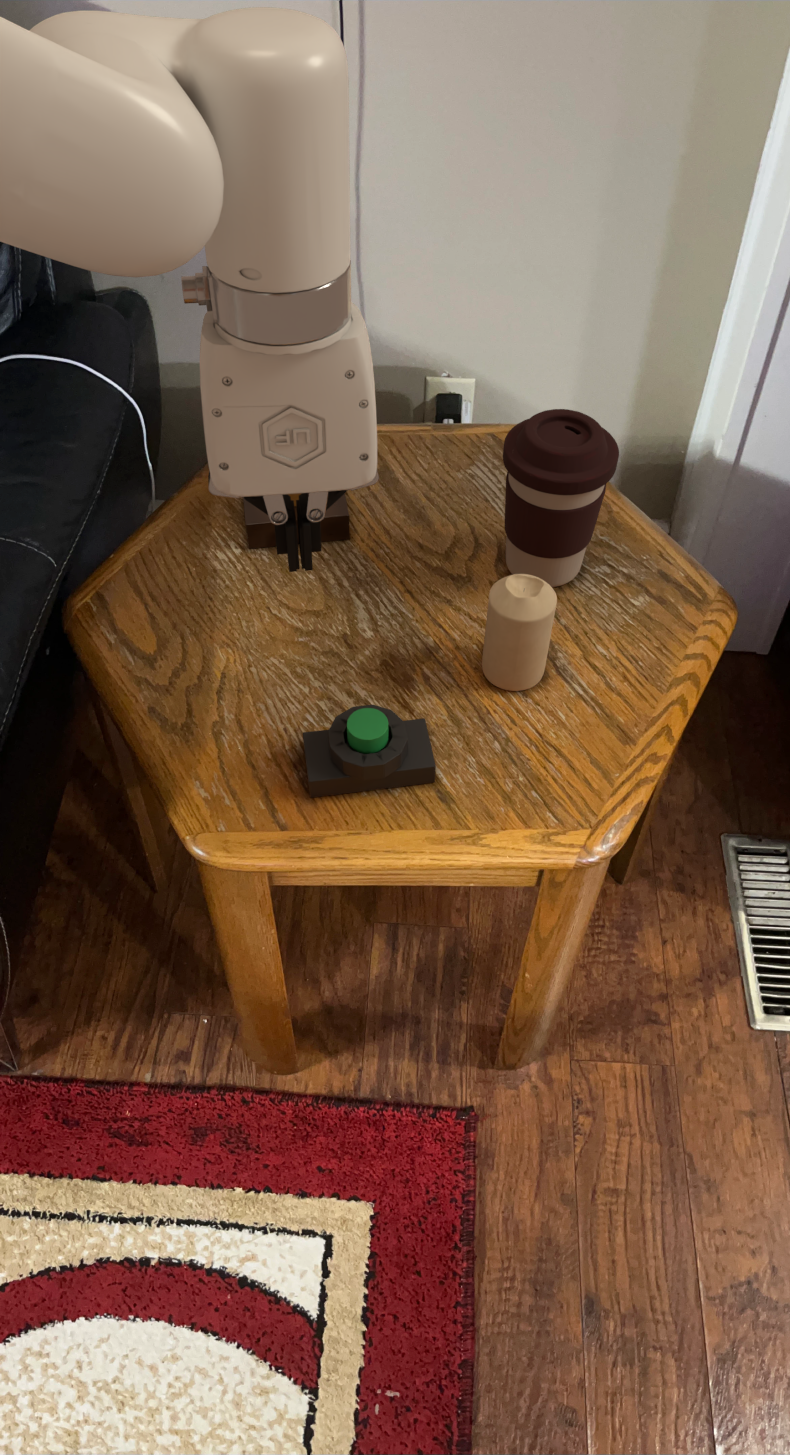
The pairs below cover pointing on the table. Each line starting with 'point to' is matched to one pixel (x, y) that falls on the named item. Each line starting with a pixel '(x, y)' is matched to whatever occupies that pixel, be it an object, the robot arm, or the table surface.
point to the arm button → (367, 730)
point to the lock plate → (264, 529)
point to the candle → (518, 631)
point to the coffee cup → (554, 491)
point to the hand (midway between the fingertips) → (299, 557)
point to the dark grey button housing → (368, 757)
